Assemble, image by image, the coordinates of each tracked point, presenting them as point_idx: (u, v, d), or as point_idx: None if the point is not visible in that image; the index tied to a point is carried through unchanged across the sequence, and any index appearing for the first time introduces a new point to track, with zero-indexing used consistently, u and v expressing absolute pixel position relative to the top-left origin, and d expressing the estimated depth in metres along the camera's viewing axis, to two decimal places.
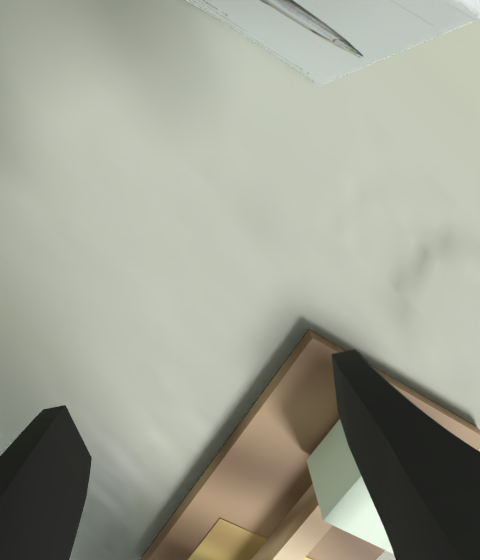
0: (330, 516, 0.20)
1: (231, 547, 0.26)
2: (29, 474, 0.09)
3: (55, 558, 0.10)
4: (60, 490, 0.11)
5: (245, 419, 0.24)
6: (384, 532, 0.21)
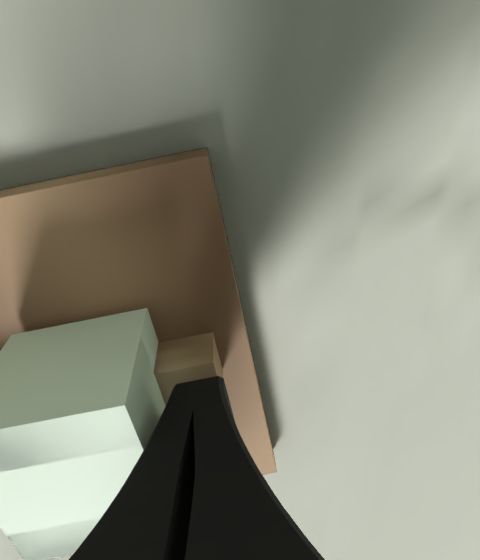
0: None
1: None
2: (190, 443, 0.09)
3: None
4: None
5: None
6: (34, 520, 0.11)
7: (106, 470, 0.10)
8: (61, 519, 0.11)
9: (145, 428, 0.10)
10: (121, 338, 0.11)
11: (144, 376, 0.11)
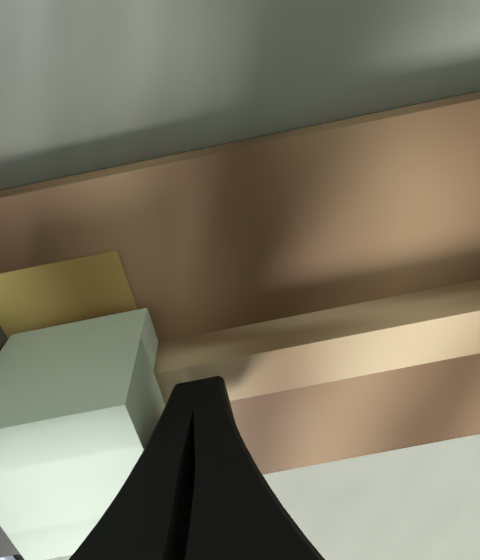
0: None
1: (84, 314, 0.13)
2: (190, 444, 0.09)
3: None
4: None
5: (314, 127, 0.12)
6: (34, 519, 0.11)
7: (106, 470, 0.10)
8: (61, 518, 0.11)
9: (145, 428, 0.10)
10: (121, 337, 0.11)
11: (144, 376, 0.11)
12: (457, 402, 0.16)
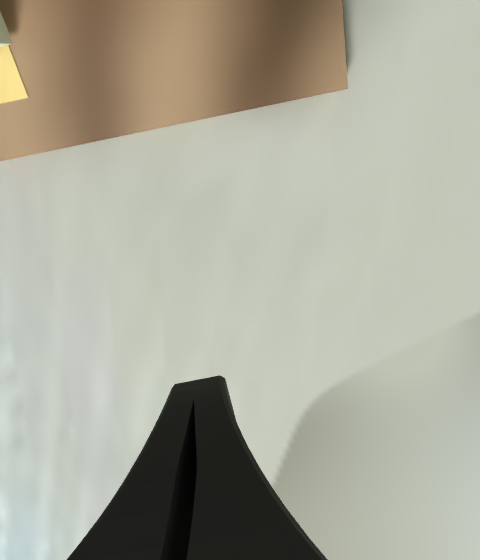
0: None
1: None
2: (189, 444, 0.09)
3: None
4: None
5: None
6: None
7: None
8: None
9: None
10: None
11: None
12: (285, 48, 0.16)
